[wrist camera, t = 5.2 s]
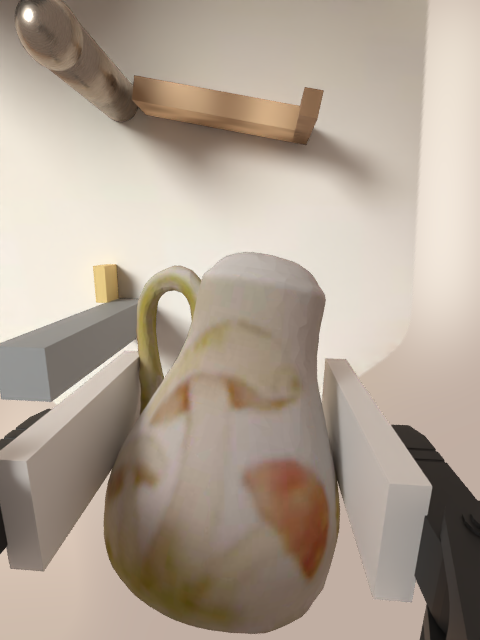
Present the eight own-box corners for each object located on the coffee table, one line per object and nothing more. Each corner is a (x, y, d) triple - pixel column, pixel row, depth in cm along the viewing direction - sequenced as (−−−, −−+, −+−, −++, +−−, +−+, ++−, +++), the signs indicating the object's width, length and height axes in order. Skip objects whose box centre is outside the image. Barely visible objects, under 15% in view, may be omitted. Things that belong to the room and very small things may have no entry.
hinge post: (98, 78, 27) (-7, -26, 17) (138, 77, 27) (57, -28, 17) (101, 123, 28) (4, 52, 18) (140, 122, 28) (65, 50, 17)
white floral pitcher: (362, 243, 12) (571, 595, 5) (268, 392, 18) (300, 642, 11) (155, 186, 10) (4, 601, 3) (130, 371, 17) (61, 652, 9)
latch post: (106, 264, 31) (-35, 284, 16) (144, 265, 31) (36, 285, 16) (111, 328, 32) (-15, 398, 18) (147, 329, 32) (51, 401, 18)
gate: (145, 114, 27) (113, 80, 22) (148, 93, 27) (116, 52, 21) (306, 144, 27) (317, 118, 21) (310, 123, 27) (323, 90, 21)
